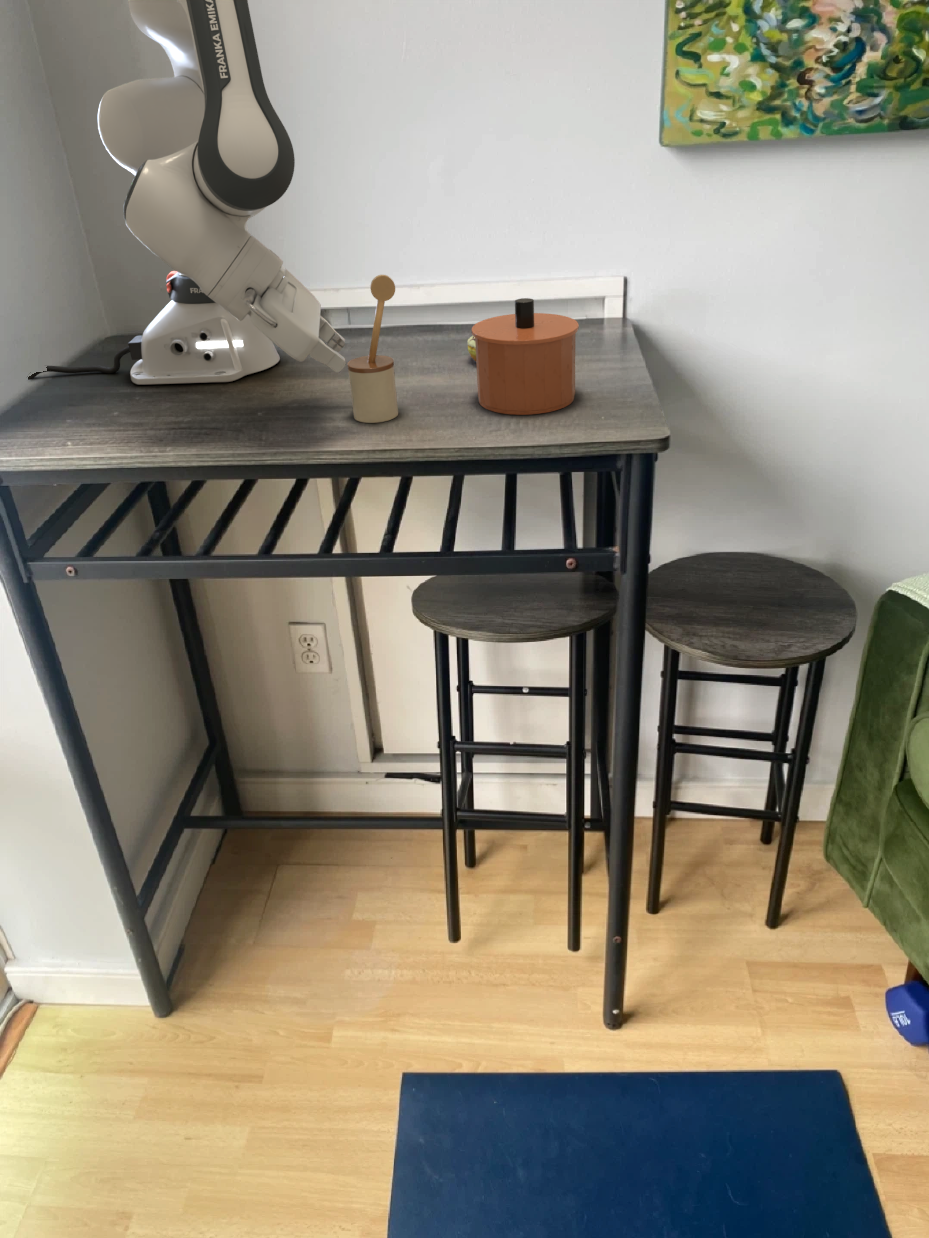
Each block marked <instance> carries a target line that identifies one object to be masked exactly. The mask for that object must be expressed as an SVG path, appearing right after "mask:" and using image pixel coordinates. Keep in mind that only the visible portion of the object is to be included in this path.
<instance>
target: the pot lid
mask: <svg viewBox="0 0 929 1238" xmlns="http://www.w3.org/2000/svg"><path fill="white" fill-rule="evenodd" d="M578 331H579V322H578V321H577V320H576V319H574V318H572V317H569V316H566V315H561V314H555V313H544V312H535V299H533V298H529V297H525V298H524V297H522V298H518V299H517V298H516V299H515V300H514V313H510V314H509V313H508V314H502V315H497V316H493V317H488V318H485V319H483V320H480V321H478V322H476V323H475V324H474V325H473V326H472V327H471V335H472V336H474V337H475V338H477V339H479V340H482V341H486V342H490V343H497V344H509V345H525V344H539V343H546V342H552V341H557V340H561V339H564V338H567V337H569V336H572V335H573V334H575V333H576V334H577V332H578ZM576 334H575V335H576Z"/></svg>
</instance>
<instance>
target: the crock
mask: <svg viewBox="0 0 929 1238" xmlns="http://www.w3.org/2000/svg"><path fill="white" fill-rule="evenodd" d="M369 286H370V293H371V295H372V296H373V298H374V299H375V300H377V302H376V306H375V314H374V320H373V328H372V333H371V339H370V347H369V352H368V355H364V356H359V357H355V358H352V359H351V360H349V361H348V362H346V367H347V371H348V381H349V387H350V397H351V405H352V413H353V419H354V420H355V421H357V422H360V423H365V424H366V423H367V424H376V423H377V424H378V423H384V422H387V421H391V420H393V419H395V418H397V417H398V416H399V405H398V395H397V384H396V383H397V382H396V373H395V360H394V358H393V357H392V356H387V355H383V354H382V355H380V354H377V352H378V347H379V340H380V334H381V327H382V322H383V317H384V316H383V315H384V309H385V302H387V301H389V300H391V299H392V298H393V296H394V295H395V293H396V283H395V281H394V280H393V279H392V277H391V276H389V275H387V274H378V275H376V276H375V277H373V278H372V280H371V282H370V285H369Z"/></svg>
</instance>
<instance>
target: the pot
mask: <svg viewBox="0 0 929 1238" xmlns="http://www.w3.org/2000/svg"><path fill="white" fill-rule="evenodd" d="M576 334H577V332H576V333H575V334H573V335H572V336H569V337H567V338H564V339H561V340H557V341H552V342H546V343H539V344H525V345H509V344H497V343H490V342H486V341H482V340H479V339H477V338H475V345H476V361H475V362H476V363H475V364H476V384H477V386H476V387H477V397H478V403H479V404H480V406H481V407H482V408H484V409H485V410H488V411H490V412H494V413H498V414H504V415H513V416H514V415H516V416H524V415H527V416H528V415H539V414H547V413H551V412H555V411H558V410H561V409H564V408H566V407H568V406H570V405H571V404H572V403H573V402H574V400H575V395H576Z"/></svg>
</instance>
